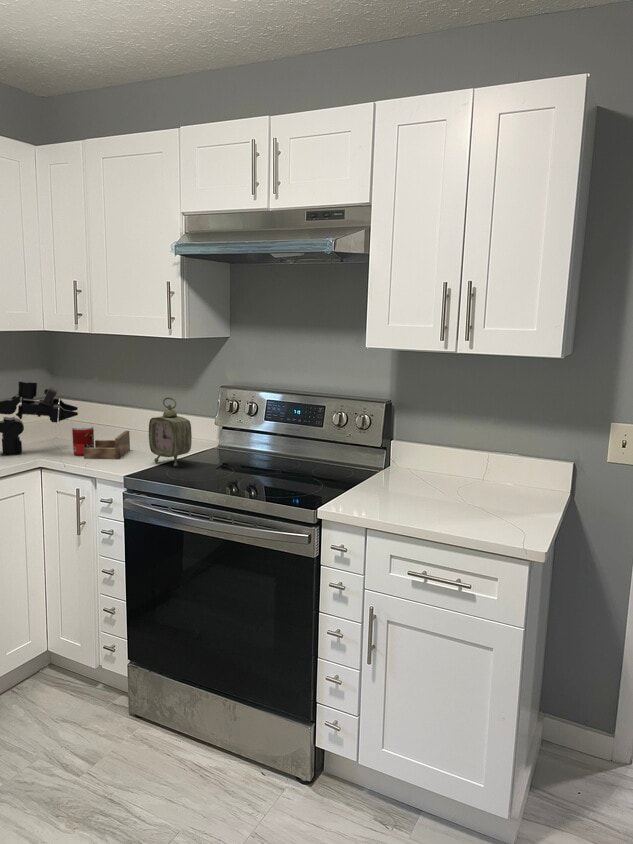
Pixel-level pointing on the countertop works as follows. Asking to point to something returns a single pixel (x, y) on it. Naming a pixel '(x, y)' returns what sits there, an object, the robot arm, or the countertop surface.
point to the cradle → (109, 448)
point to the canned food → (82, 438)
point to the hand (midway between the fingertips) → (77, 411)
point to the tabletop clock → (169, 434)
